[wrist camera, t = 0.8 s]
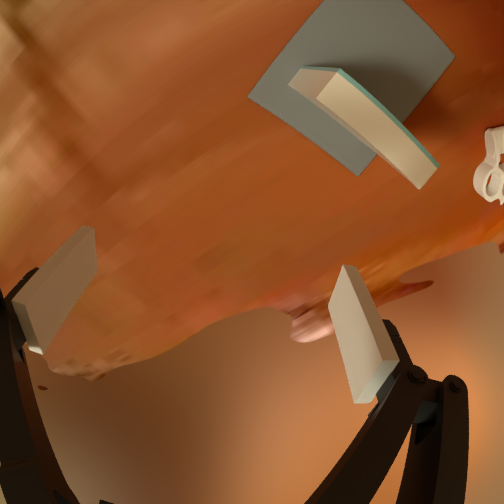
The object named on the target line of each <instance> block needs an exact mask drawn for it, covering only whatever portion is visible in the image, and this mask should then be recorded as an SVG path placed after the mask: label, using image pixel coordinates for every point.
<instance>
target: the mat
mask: <svg viewBox="0 0 504 504" xmlns="http://www.w3.org/2000/svg"><path fill="white" fill-rule="evenodd" d="M454 58H455V55H454V54H453V53H452V52H451V51H450V49H449V48H448V47H447V46H446V45H445V44H444V42H443V41H442V40H441V39H440V38H439V37H438V36H437V34H436V33H435V32H434V31H433V30H432V29H431V28H430V27H429V26H428V25H427V24H426V23H425V22H424V21H423V20H422V19H421V18H420V17H419V15H418V14H417V13H415V12H414V11H413V10H412V9H411V8H410V7H409V6H408V5H407V4H406V3H405V2H404V1H403V0H324V1H323V2H322V3H321V4H320V6H319V7H318V8H317V9H316V10H315V11H314V12H313V14H312V15H311V16H310V17H309V18H308V20H307V21H306V22H305V23H304V24H303V25H302V27H301V28H300V29H299V30H298V31H297V33H296V34H295V35H294V36H293V38H292V39H291V40H290V41H289V42H288V44H287V45H286V46H285V47H284V49H283V50H282V51H281V53H280V54H279V55H278V56H277V58H276V59H275V60H274V62H273V63H272V64H271V65H270V67H269V68H268V69H267V71H266V72H265V73H264V75H263V76H262V77H261V79H260V80H259V81H258V83H257V84H256V85H255V87H254V88H253V89H252V91H251V92H250V94H249V95H248V96H247V97H248V98H250V99H251V100H253V101H255V102H256V103H258V104H259V105H261V106H262V107H264V108H265V109H267V110H268V111H270V112H271V113H273V114H274V115H276V116H277V117H279V118H280V119H282V120H283V121H285V122H286V123H288V124H289V125H290V126H292V127H293V128H295V129H296V130H298V131H299V132H300V133H302V134H303V135H305V136H306V137H307V138H309V139H310V140H311V141H313V142H314V143H315V144H317V145H318V146H319V147H321V148H322V149H323V150H325V151H326V152H327V153H329V154H330V155H331V156H333V157H334V158H335V159H336V160H338V161H339V162H340V163H342V164H343V165H344V166H345V167H347V168H348V169H349V170H350V171H352V172H353V173H354V174H355V175H357V176H359V175H360V174H361V172H362V171H363V170H364V169H365V168H366V167H367V165H368V164H369V163H370V162H371V161H372V159H373V158H374V157H375V156H376V155H377V153H375V152H374V151H373V150H372V149H370V148H369V147H368V146H367V145H365V144H364V143H363V142H361V141H360V140H359V139H358V138H357V137H355V136H354V135H353V134H352V133H351V132H349V131H348V130H347V129H346V128H345V127H343V126H342V125H341V124H340V123H338V122H337V121H336V120H335V119H333V118H332V117H331V116H330V115H328V114H327V113H326V112H324V111H323V110H322V109H321V108H319V107H318V106H317V105H315V104H314V103H313V102H311V101H310V100H308V99H307V98H306V97H304V96H303V95H302V94H300V93H299V92H297V91H296V90H295V89H293V88H292V87H290V86H289V85H288V84H289V82H290V81H291V80H292V78H293V77H294V76H295V75H296V73H297V72H298V71H299V70H300V68H301V67H302V66H312V67H330V68H341V69H342V70H343V71H344V72H345V73H347V74H348V75H349V76H350V77H352V78H353V79H354V80H355V81H356V82H357V83H359V84H360V85H361V86H362V87H363V88H364V89H366V90H367V91H368V92H369V93H370V94H371V95H372V96H373V97H374V98H376V99H377V100H378V101H379V102H380V103H381V104H382V105H383V106H384V107H385V108H386V109H387V110H388V111H389V112H390V113H391V114H393V115H394V116H395V117H396V118H397V119H398V120H399V121H400V122H401V123H403V122H404V121H405V120H406V118H407V117H408V116H409V115H410V113H411V112H412V111H413V110H414V108H415V107H416V106H417V105H418V103H419V102H420V101H421V100H422V98H423V97H424V96H425V95H426V93H427V92H428V91H429V90H430V88H431V87H432V86H433V85H434V83H435V82H436V81H437V80H438V78H439V77H440V76H441V75H442V73H443V72H444V71H445V69H446V68H447V67H448V66H449V64H450V63H451V62H452V60H453V59H454Z"/></svg>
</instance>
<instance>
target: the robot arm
mask: <svg viewBox="0 0 504 504" xmlns="http://www.w3.org/2000/svg"><path fill="white" fill-rule="evenodd" d="M97 272H98V266H97V256H96V245H95V233H94V227H88V226H81V227H80V228H79V229H78V230H77V231H76V232H75V233H74V234H73V235H72V236H71V237H70V238H69V239H68V240H67V241H66V242H65V243H64V244H63V245H62V246H61V247H60V248H59V249H58V250H57V251H56V252H55V253H54V254H53V255H52V256H51V257H50V258H49V259H48V260H47V261H46V262H45V263H44V264H43V265H42V266H41V267H40V268H37V267H36V268H34V269H33V270H31V271H29V272H28V273H27V274H26V275H25V276H24V277H23V278H22V280H20V281H19V282H18V284H17V285H16V286H15V287H14V288H13V289H12V290H11V291H10V292H9V294H8V295H7V296H6V297H5V298H3V295H2V292H1V289H0V462H1V467H0V485H1V488H2V491H3V494H4V497H5V499H6V502H7V504H80V503H79V501H78V500H77V498H76V496H75V495H74V493H73V492H72V490H71V489H70V488H69V486H68V484H67V482H66V480H65V478H64V476H63V474H62V471H61V469H60V467H59V464H58V462H57V459H56V457H55V454H54V452H53V449H52V447H51V444H50V441H49V439H48V436H47V433H46V430H45V427H44V424H43V421H42V418H41V415H40V412H39V409H38V405H37V402H36V398H35V395H34V391H33V387H32V383H31V379H30V375H29V371H28V366H27V362H26V357H25V352H24V350H23V347H22V346H23V344H24V343H25V341H26V342H27V344H28V346H29V349H30V350H31V351H34V352H37V353H39V354H42V355H44V353H45V351H46V350H47V348H48V346H49V345H50V343H51V341H52V340H53V338H54V336H55V335H56V333H57V332H58V330H59V328H60V327H61V325H62V324H63V322H64V321H65V319H66V317H67V316H68V314H69V313H70V311H71V310H72V308H73V307H74V305H75V304H76V302H77V301H78V299H79V298H80V296H81V295H82V293H83V292H84V291H85V289H86V288H87V286H88V285H89V283H90V282H91V281H92V279H93V278H94V276H95V275H96V274H97ZM328 308H329V311H330V315H331V318H332V322H333V325H334V329H335V332H336V336H337V339H338V343H339V346H340V350H341V354H342V358H343V361H344V366H345V369H346V373H347V377H348V381H349V385H350V389H351V393H352V397H353V401H354V403H370V402H371V401H372V399H373V398H374V397H375V395H376V396H377V399H378V403H377V404H376V406H375V407H374V408H373V409H372V411H371V412H370V413H369V414H368V416H369V417H368V418H367V420H366V422H365V423H364V425H363V426H362V428H361V429H360V431H359V432H358V434H357V435H356V437H355V438H354V440H353V441H352V443H351V444H350V445H349V447H348V448H347V450H346V451H345V453H344V454H343V455H342V457H341V458H340V459H339V461H338V462H337V464H336V465H335V466H334V467H333V469H332V470H331V472H330V473H329V474H328V475H327V477H326V478H325V479H324V480H323V482H322V483H321V484H320V485H319V487H318V488H317V489H316V490H315V492H314V493H313V494H312V495H311V496H310V497H309V499H308V500H307V501H306V502H305V503H304V504H369V503H370V501H371V499H372V498H373V496H374V495H375V493H376V491H377V490H378V488H379V486H380V485H381V483H382V481H383V480H384V478H385V476H386V475H387V473H388V471H389V469H390V467H391V465H392V464H393V462H394V460H395V458H396V456H397V454H398V452H399V450H400V448H401V446H402V444H403V442H404V440H405V438H406V436H407V434H408V432H409V429H410V427H411V425H412V429H411V436H410V442H409V448H408V453H407V458H406V463H405V468H404V472H403V477H402V481H401V485H400V489H399V493H398V497H397V501H396V504H464V500H465V492H466V482H467V469H468V450H469V409H468V390H467V386H466V384H465V383H464V381H463V380H462V379H460V378H459V377H457V376H455V375H448V376H447V377H446V378H445V379H444V380H443V381H442V382H439V381H436V380H432V379H429V378H428V375H427V374H426V372H425V371H424V370H423V369H422V368H420V367H418V366H416V365H413V363H412V361H411V359H410V357H409V354H408V352H407V350H406V348H405V346H404V344H403V341H402V339H401V337H399V336H400V335H399V333H398V331H397V329H396V327H395V326H394V325H393V324H392V323H391V322H390V321H389V320H384V319H381V317H380V315H379V312H378V310H377V308H376V306H375V304H374V302H373V300H372V298H371V295H370V293H369V291H368V289H367V287H366V285H365V283H364V281H363V279H362V277H361V275H360V273H359V271H358V269H357V267H356V266H350V265H344V264H343V266H342V269H341V272H340V274H339V277H338V280H337V283H336V285H335V288H334V291H333V294H332V296H331V299H330V302H329V304H328ZM99 504H113V503H110V502H107V501H104V500H100V502H99Z"/></svg>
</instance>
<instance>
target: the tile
mask: <svg viewBox="0 0 504 504" xmlns="http://www.w3.org/2000/svg"><path fill="white" fill-rule="evenodd" d="M288 85H289V86H290V87H292V88H293V89H295V90H296V91H297V92H299V93H300V94H302V95H303V96H304V97H306V98H307V99H308V100H310V101H311V102H313V103H314V104H315V105H317V106H318V107H319V108H321V109H322V110H323V111H324V112H326V113H327V114H328V115H330V116H331V117H332V118H333V119H335V120H336V121H337V122H338V123H340V124H341V125H342V126H343V127H345V128H346V129H347V130H348V131H349V132H351V133H352V134H353V135H354V136H355V137H357V138H358V139H359V140H360V141H361V142H363V143H364V144H365V145H367V146H368V147H369V148H370V149H372V150H373V151H374V152H375V153H377V154H378V155H379V156H380V157H382V158H383V159H384V160H385V161H386V162H388V163H389V164H390V165H391V166H392V167H394V168H395V169H396V170H397V171H398V172H399V173H401V174H402V175H403V176H404V177H405V178H406V179H408V180H409V181H410V182H411V183H412V184H413V185H414V186H415V187H416V188H418V189H419V190H420V189H421V187H422V186H423V185H424V184H425V183H426V182H427V180H428V179H429V178H430V177H431V176H432V175H433V173H434V172H435V171H436V170H437V169H438V167H439V166H440V165H439V164H438V163H437V161H436V160H435V159H434V158H433V157H432V156H431V154H430V153H429V152H428V151H427V150H426V149H425V148H424V147H423V146H422V144H421V143H420V142H419V141H418V140H417V139H416V138H415V137H414V136H413V135H412V134H411V133H410V132H409V131H408V130H407V128H406V127H405V126H404V125H403V124H402V123H401V122H400V121H399V120H398V119H397V118H396V117H395V116H394V115H393V114H391V113H390V112H389V111H388V110H387V109H386V108H385V107H384V106H383V105H382V104H381V103H380V102H379V101H378V100H377V99H376V98H374V97H373V96H372V95H371V94H370V93H369V92H368V91H367V90H366V89H364V88H363V87H362V86H361V85H360V84H359V83H357V82H356V81H355V80H354V79H353V78H352V77H350V76H349V75H348V74H347V73H345V72H344V71H343V70H342V69H341V68H330V67H312V66H302V67H301V68H300V70H299V71H298V72H297V73H296V75H295V76H294V77H293V78H292V80H291V81H290V82H289V84H288Z"/></svg>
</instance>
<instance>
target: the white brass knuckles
mask: <svg viewBox="0 0 504 504" xmlns="http://www.w3.org/2000/svg"><path fill="white" fill-rule="evenodd" d="M485 147H486V154H487V155H486V157H485V160H484V162H482V163H481V164H480V165H479V166H478V168H477V169H476V172H475V174H474V179H473V184H474V188H475V190H476V192H477V193H478V194H480V195H481V196H482V197H483V198H485V199H486V200H487V201H489V202H492V201H494V200H495V199H499V200H500V205H502V204H503V203H504V187H503V184H504V163H502V164H499V162H500V154H503V153H504V126H501V127H496V128H492V129H491V128H488V129H487V130H486V132H485ZM491 173H492V176H491V181H490V183H489V185H488V186H487V187H486V184H487V180H488V177H489V176H490V174H491Z"/></svg>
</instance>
